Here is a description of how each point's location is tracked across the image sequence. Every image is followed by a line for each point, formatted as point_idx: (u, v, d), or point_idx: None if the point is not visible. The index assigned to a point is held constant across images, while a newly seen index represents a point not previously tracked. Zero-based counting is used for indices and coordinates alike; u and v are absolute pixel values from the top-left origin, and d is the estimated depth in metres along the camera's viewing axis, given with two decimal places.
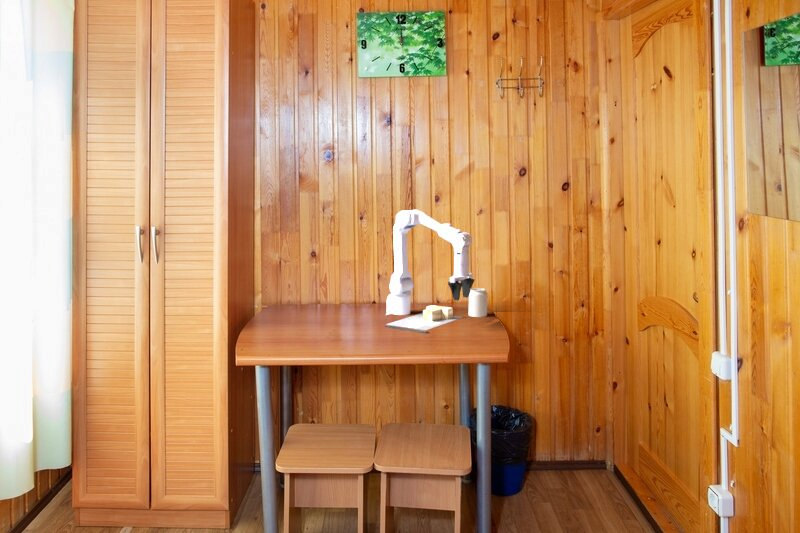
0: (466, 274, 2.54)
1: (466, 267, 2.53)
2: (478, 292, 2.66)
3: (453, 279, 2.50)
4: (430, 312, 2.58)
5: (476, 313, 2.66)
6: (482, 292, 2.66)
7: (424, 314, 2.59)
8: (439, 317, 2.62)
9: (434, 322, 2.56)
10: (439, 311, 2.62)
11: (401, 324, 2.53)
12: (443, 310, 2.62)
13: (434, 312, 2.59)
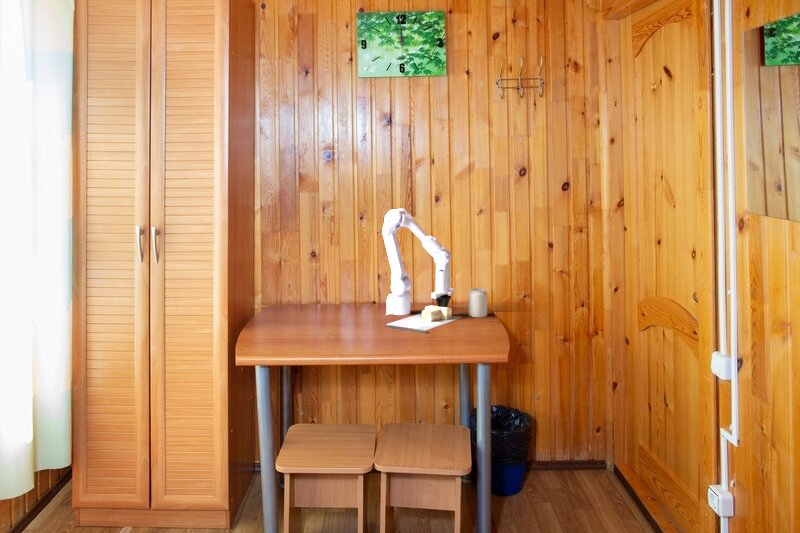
0: (447, 290, 2.65)
1: (447, 283, 2.64)
2: (478, 292, 2.66)
3: (434, 295, 2.61)
4: (429, 312, 2.57)
5: (476, 313, 2.66)
6: (482, 292, 2.66)
7: (423, 314, 2.59)
8: (438, 317, 2.62)
9: (434, 322, 2.56)
10: (438, 311, 2.61)
11: (401, 324, 2.53)
12: (442, 310, 2.62)
13: (433, 312, 2.58)
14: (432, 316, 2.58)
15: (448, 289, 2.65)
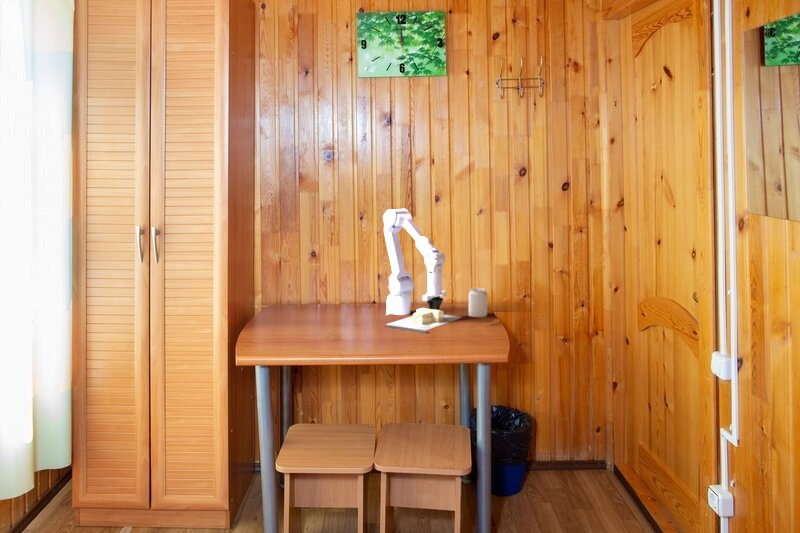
0: (439, 292, 2.59)
1: (439, 285, 2.59)
2: (478, 292, 2.66)
3: (426, 297, 2.56)
4: (420, 315, 2.52)
5: (476, 313, 2.66)
6: (482, 292, 2.66)
7: (414, 317, 2.53)
8: (429, 320, 2.56)
9: (434, 322, 2.56)
10: (429, 314, 2.56)
11: (401, 324, 2.53)
12: (433, 313, 2.56)
13: (424, 315, 2.53)
14: (423, 319, 2.53)
15: (440, 291, 2.60)
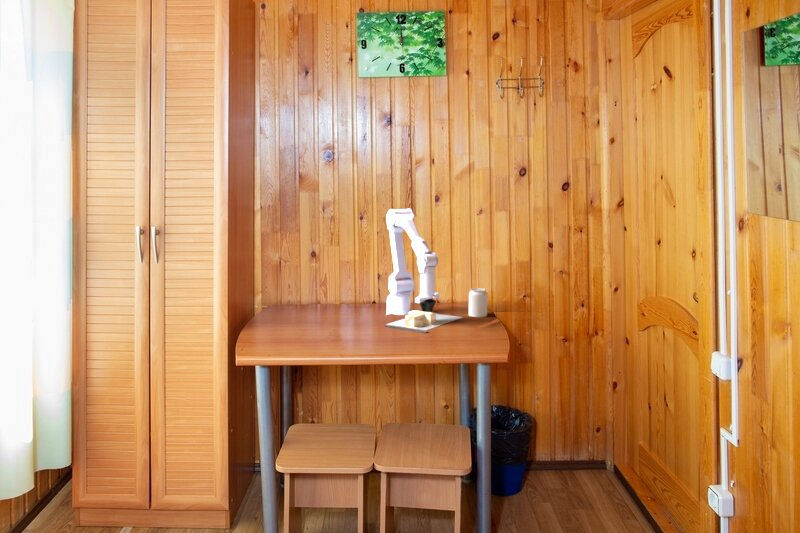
0: (432, 294, 2.55)
1: (432, 287, 2.55)
2: (478, 292, 2.65)
3: (418, 300, 2.51)
4: (412, 318, 2.47)
5: (476, 313, 2.66)
6: (482, 292, 2.66)
7: (406, 320, 2.49)
8: (422, 323, 2.52)
9: None
10: (422, 316, 2.52)
11: (401, 324, 2.53)
12: (426, 315, 2.52)
13: (416, 318, 2.49)
14: (415, 321, 2.48)
15: (433, 293, 2.55)
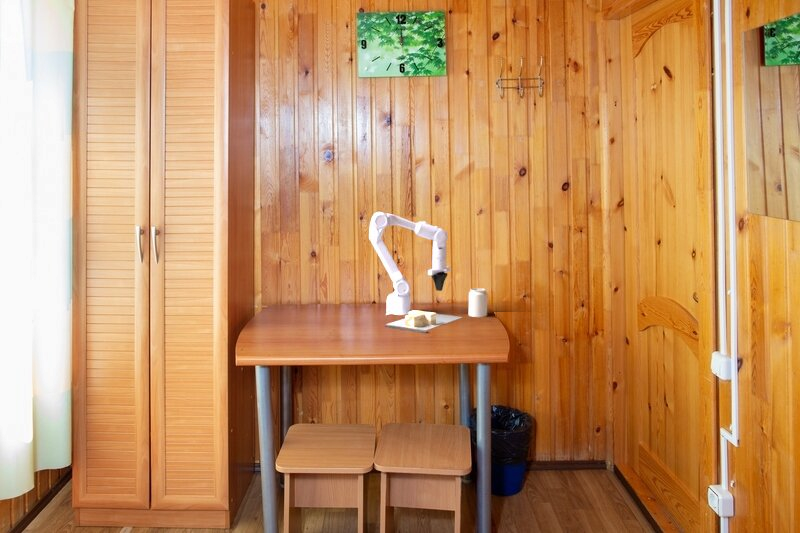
0: (443, 267, 2.71)
1: (443, 261, 2.70)
2: (478, 292, 2.66)
3: (431, 272, 2.67)
4: (412, 318, 2.47)
5: (476, 313, 2.66)
6: (482, 292, 2.66)
7: (406, 320, 2.49)
8: (422, 323, 2.52)
9: None
10: (422, 316, 2.52)
11: (401, 324, 2.53)
12: (426, 315, 2.52)
13: (416, 318, 2.49)
14: (415, 321, 2.48)
15: (444, 266, 2.71)
